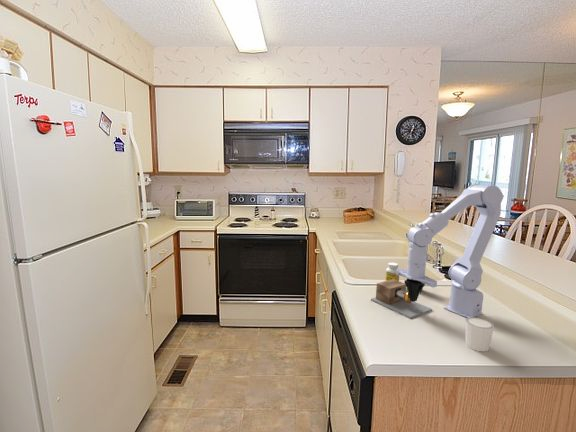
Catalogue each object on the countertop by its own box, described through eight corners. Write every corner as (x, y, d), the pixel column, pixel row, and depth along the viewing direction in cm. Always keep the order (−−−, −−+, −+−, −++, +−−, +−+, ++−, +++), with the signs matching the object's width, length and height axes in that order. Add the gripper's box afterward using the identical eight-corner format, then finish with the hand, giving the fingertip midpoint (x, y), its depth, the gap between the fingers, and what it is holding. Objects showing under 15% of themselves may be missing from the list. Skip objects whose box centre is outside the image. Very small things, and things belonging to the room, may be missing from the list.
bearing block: (405, 299, 118) (406, 284, 117) (388, 304, 113) (389, 288, 112) (392, 294, 123) (393, 279, 122) (375, 298, 118) (376, 283, 117)
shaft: (413, 302, 112) (414, 291, 112) (406, 304, 110) (406, 293, 110) (390, 292, 121) (391, 282, 120) (383, 294, 118) (383, 284, 118)
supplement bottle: (399, 285, 134) (401, 263, 133) (396, 289, 130) (398, 266, 129) (387, 282, 137) (388, 261, 136) (383, 286, 133) (384, 264, 131)
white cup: (457, 339, 92) (460, 316, 91) (480, 339, 93) (482, 316, 92) (473, 353, 85) (476, 328, 84) (497, 352, 86) (500, 328, 85)
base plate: (432, 310, 111) (432, 309, 111) (410, 318, 104) (410, 316, 104) (392, 294, 125) (392, 292, 125) (370, 300, 118) (371, 298, 118)
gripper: (391, 258, 112) (388, 295, 114) (429, 270, 100) (425, 311, 102) (404, 256, 116) (401, 291, 118) (442, 266, 104) (438, 306, 106)
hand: (413, 300), depth 110 cm, fingers closed
